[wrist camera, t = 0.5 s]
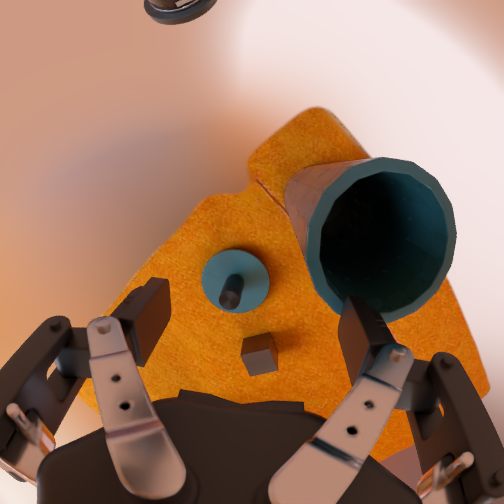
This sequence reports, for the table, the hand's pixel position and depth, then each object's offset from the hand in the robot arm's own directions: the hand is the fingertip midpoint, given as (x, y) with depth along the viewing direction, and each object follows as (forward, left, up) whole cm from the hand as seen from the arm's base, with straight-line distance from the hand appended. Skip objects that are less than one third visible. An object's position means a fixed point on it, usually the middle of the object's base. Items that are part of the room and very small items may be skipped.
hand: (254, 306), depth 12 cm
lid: (+8, -4, -22) cm, 24 cm away
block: (+18, 0, -23) cm, 29 cm away
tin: (-3, +6, -23) cm, 23 cm away
